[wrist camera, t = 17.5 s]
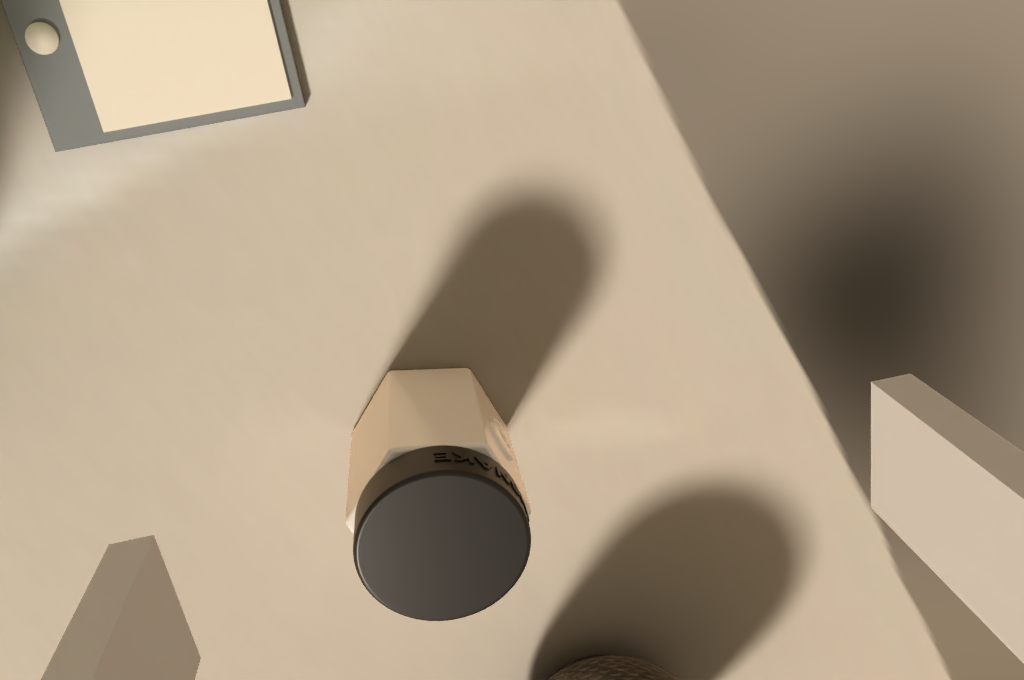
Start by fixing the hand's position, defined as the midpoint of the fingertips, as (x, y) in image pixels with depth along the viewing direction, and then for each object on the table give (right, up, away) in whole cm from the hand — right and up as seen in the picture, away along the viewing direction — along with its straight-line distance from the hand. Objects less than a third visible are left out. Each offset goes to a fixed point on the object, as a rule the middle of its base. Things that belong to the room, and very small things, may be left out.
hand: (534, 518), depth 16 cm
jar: (-5, -2, +35) cm, 35 cm away
